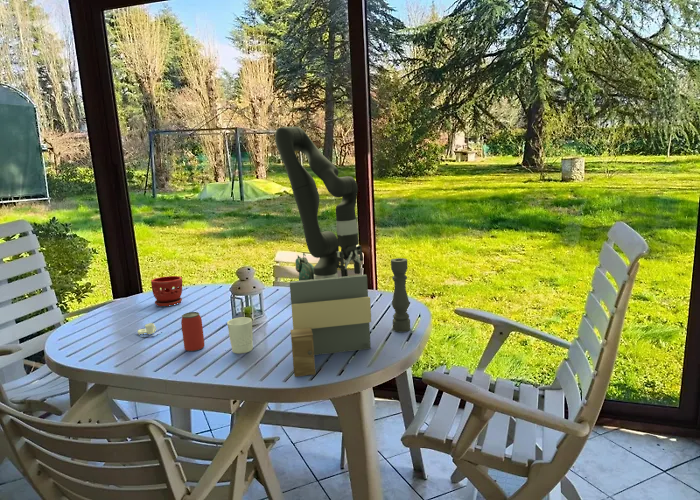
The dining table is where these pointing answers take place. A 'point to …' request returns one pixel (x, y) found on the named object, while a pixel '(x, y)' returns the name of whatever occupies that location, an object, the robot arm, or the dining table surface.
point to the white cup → (241, 334)
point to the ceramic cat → (304, 268)
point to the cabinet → (303, 352)
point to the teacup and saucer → (148, 329)
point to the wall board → (333, 312)
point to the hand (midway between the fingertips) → (351, 276)
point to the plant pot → (167, 290)
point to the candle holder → (400, 295)
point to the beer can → (192, 331)
